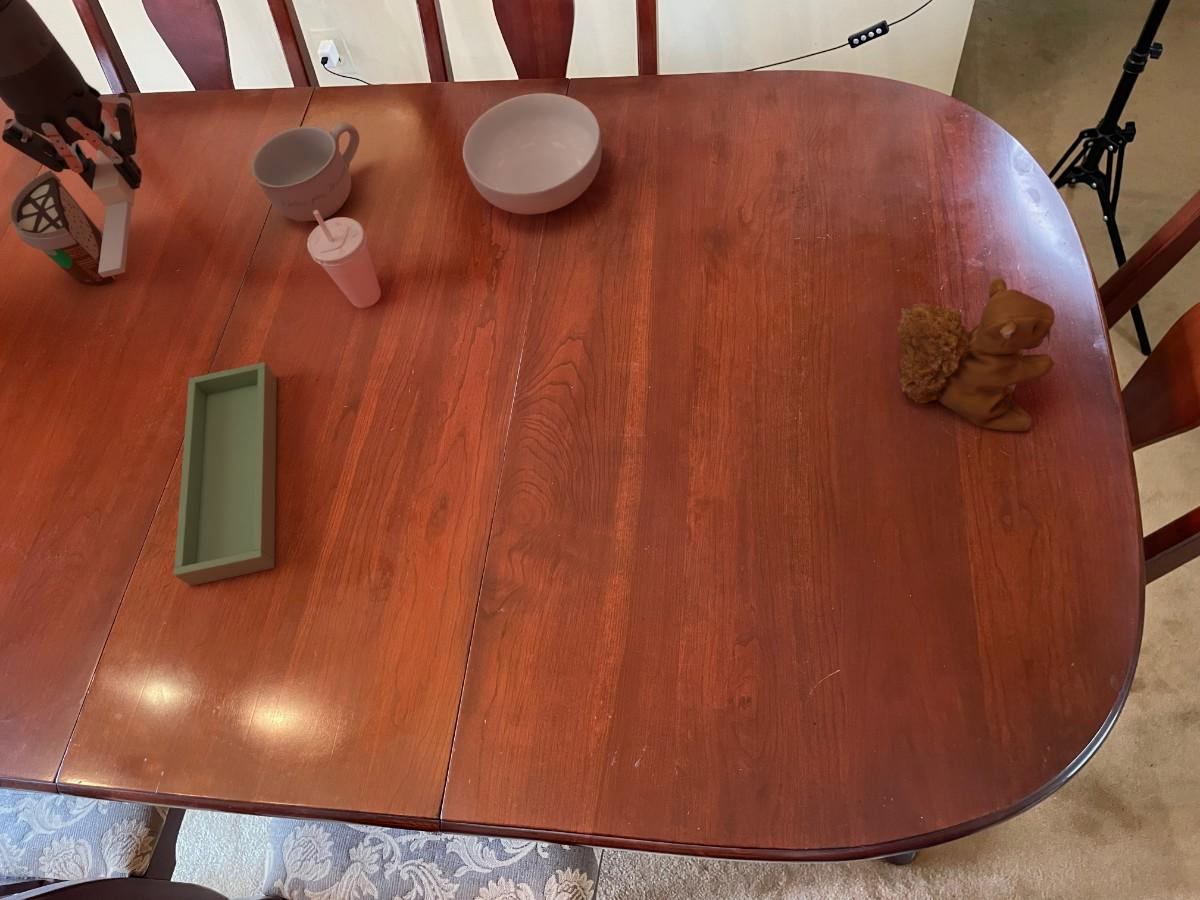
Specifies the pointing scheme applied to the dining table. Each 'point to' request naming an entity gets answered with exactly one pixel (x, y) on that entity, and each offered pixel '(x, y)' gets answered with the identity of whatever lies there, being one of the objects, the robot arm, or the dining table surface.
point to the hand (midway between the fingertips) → (121, 186)
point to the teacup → (306, 170)
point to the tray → (228, 476)
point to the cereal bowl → (533, 152)
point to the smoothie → (345, 258)
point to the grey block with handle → (113, 213)
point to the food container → (59, 228)
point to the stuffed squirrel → (976, 356)
